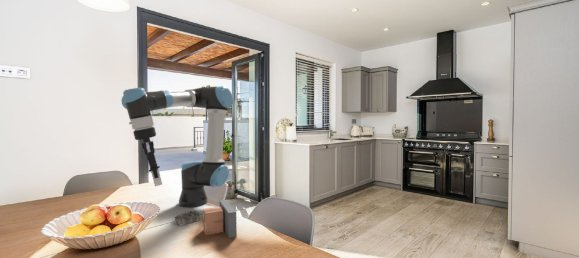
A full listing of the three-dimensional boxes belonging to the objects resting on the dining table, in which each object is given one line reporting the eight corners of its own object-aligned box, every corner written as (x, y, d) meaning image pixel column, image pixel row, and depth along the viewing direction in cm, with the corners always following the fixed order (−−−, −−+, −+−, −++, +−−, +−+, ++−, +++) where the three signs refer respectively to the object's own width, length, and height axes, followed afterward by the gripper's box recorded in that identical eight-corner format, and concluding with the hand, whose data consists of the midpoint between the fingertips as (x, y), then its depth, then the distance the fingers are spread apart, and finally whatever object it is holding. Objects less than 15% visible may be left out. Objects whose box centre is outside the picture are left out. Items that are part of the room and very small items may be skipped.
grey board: (219, 222, 122) (219, 200, 122) (226, 221, 124) (226, 199, 123) (229, 238, 106) (228, 212, 106) (236, 236, 107) (236, 211, 107)
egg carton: (180, 226, 118) (179, 217, 118) (172, 222, 124) (172, 213, 123) (202, 220, 126) (202, 211, 126) (194, 216, 131) (194, 207, 131)
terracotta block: (203, 230, 114) (203, 208, 114) (220, 227, 117) (219, 206, 117) (205, 235, 109) (205, 213, 109) (223, 232, 112) (222, 210, 112)
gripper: (133, 129, 110) (148, 183, 114) (131, 131, 98) (148, 192, 102) (153, 125, 113) (167, 178, 117) (154, 127, 102) (169, 186, 105)
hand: (158, 184), depth 110 cm, fingers closed
